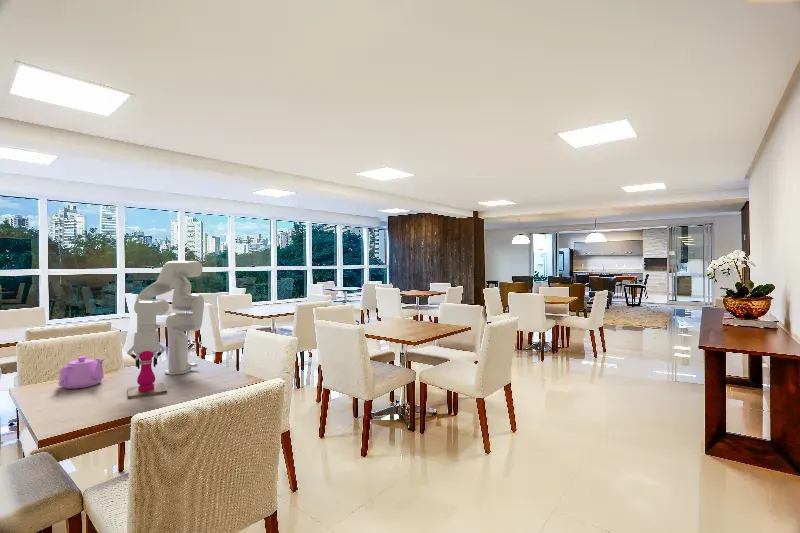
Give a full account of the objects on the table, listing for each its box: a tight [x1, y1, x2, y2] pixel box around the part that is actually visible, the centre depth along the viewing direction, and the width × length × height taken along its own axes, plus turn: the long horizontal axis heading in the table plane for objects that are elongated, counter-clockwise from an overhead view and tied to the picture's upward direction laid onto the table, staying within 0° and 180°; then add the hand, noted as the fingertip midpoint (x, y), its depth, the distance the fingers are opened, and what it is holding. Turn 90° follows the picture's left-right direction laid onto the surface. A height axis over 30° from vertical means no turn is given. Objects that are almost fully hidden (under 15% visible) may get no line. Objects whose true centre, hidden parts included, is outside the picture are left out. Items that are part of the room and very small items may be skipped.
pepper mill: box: [136, 351, 156, 391], centre depth 195 cm, size 7×7×20 cm
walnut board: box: [127, 382, 168, 400], centre depth 196 cm, size 15×15×1 cm
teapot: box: [57, 355, 105, 390], centre depth 205 cm, size 22×22×14 cm
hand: (146, 367), depth 196 cm, fingers open, 5 cm apart
